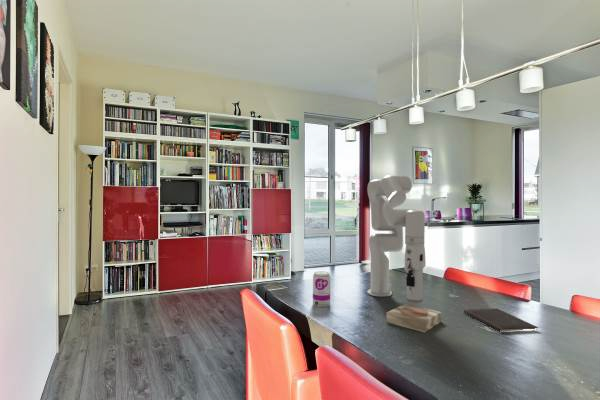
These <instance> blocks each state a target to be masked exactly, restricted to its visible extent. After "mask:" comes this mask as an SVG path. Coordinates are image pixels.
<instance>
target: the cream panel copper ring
mask: <svg viewBox="0 0 600 400" xmlns="http://www.w3.org/2000/svg"><path fill="white" fill-rule="evenodd" d="M385 321H386V323H388V324H391V325H396V326H399V327H403V328H407V329H410V330H414V331H417V332H421V333H426V332H428V331H430V330H431V329H432V328H433V327H436V326H437V325H439V324H440V323H442V312H441V311H438V310H433V309H428V308H426V307H425V308H424V307H420V306H416V305H410V304H406V303H404V304H401V305H399V306H397V307H395V308H393V309H391V310H388V311H387V312H386V320H385Z"/></svg>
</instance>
